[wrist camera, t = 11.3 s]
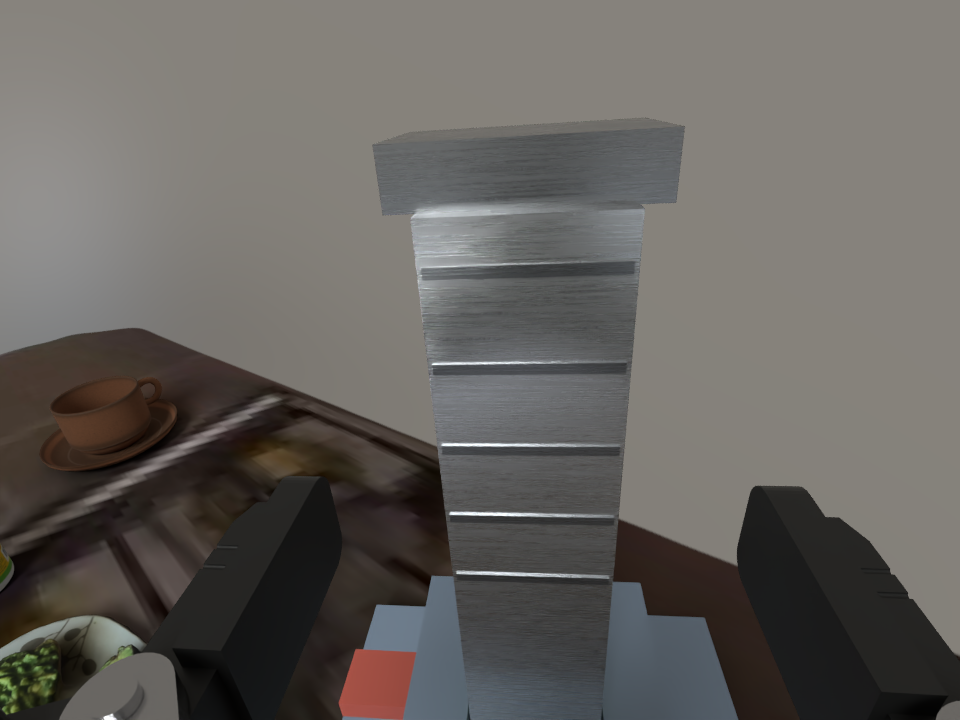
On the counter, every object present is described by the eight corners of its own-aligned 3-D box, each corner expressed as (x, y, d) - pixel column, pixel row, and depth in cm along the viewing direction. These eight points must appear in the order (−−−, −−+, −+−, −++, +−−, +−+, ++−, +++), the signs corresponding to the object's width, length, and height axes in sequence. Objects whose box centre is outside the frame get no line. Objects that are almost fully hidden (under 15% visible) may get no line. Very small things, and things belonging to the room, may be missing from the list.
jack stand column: (598, 681, 21) (642, 116, 12) (612, 803, 18) (692, 127, 8) (473, 675, 22) (414, 130, 12) (462, 791, 18) (365, 146, 8)
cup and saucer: (107, 413, 59) (85, 366, 56) (204, 412, 58) (187, 364, 55) (16, 482, 49) (-17, 429, 46) (133, 483, 48) (107, 428, 45)
